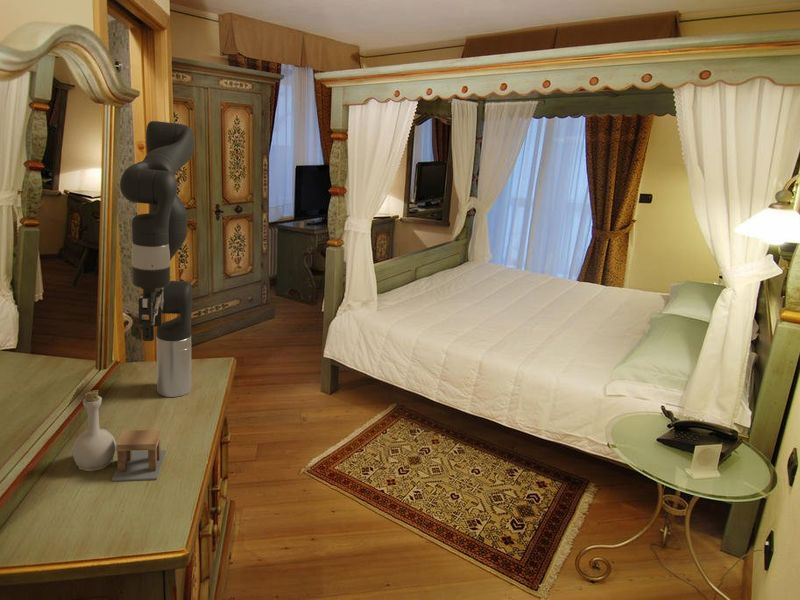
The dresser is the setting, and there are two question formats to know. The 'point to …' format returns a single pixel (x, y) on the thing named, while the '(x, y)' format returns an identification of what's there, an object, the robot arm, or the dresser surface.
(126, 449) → the small wooden bench
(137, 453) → the mat
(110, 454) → the potion bottle
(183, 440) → the dresser surface
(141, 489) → the dresser surface
